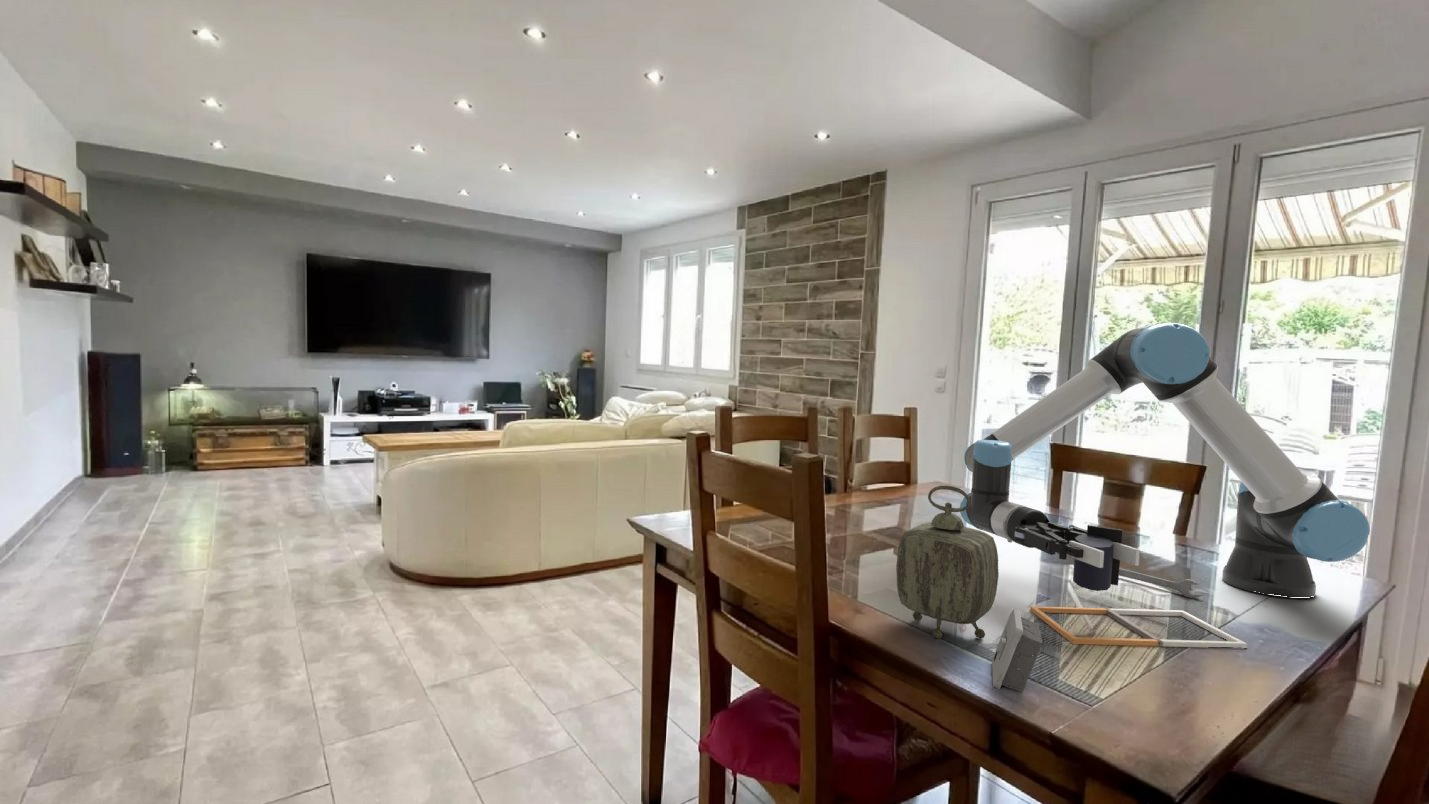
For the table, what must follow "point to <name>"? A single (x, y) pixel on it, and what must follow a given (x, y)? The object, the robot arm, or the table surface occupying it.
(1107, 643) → the rectangular frame
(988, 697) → the table surface
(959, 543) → the tabletop clock
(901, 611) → the table surface
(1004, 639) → the electrical switch
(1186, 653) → the table surface
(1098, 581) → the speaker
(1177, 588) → the combination wrench
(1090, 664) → the table surface
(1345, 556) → the robot arm
